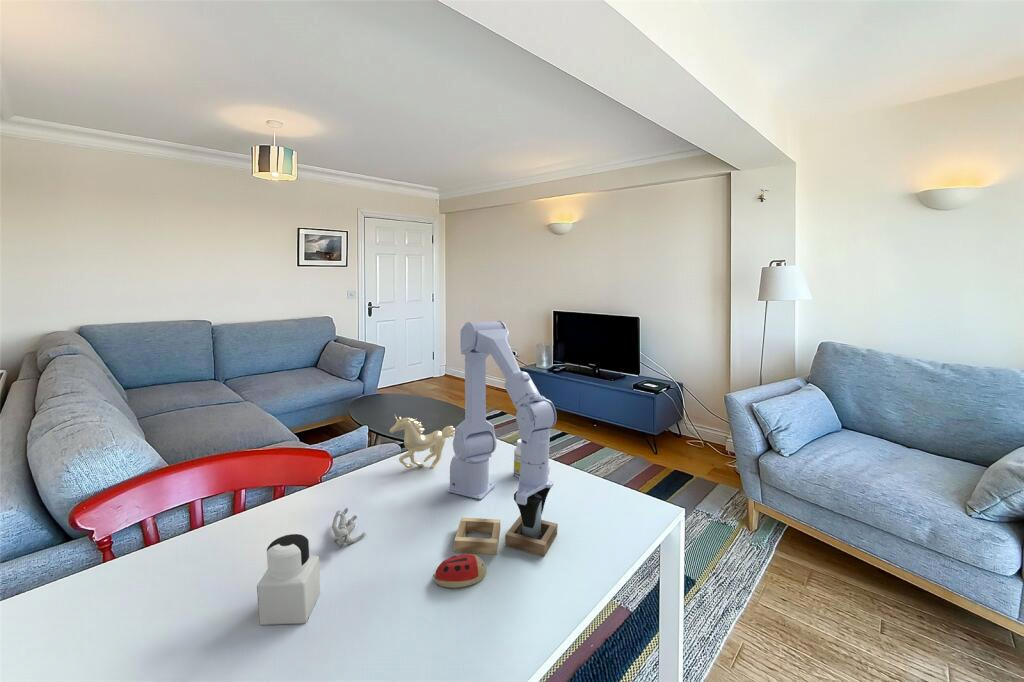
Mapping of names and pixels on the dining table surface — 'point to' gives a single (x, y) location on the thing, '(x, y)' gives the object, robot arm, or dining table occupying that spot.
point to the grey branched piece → (344, 529)
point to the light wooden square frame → (477, 544)
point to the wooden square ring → (531, 544)
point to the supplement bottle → (517, 459)
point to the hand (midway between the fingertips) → (532, 520)
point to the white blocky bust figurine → (288, 582)
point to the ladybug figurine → (460, 571)
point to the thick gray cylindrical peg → (536, 530)
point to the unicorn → (421, 440)
